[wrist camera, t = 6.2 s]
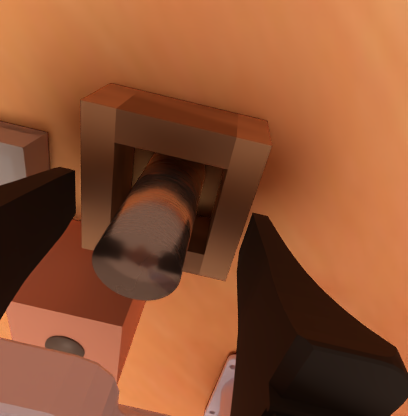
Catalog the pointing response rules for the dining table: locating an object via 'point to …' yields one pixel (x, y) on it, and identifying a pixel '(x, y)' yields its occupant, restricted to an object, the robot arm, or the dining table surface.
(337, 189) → the dining table surface
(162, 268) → the cylinder
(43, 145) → the tray
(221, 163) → the brown square frame
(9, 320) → the block
